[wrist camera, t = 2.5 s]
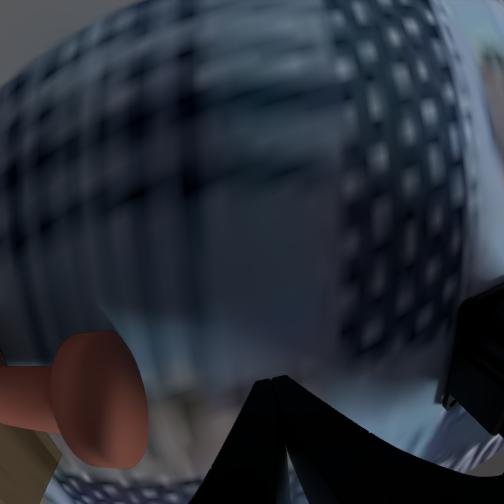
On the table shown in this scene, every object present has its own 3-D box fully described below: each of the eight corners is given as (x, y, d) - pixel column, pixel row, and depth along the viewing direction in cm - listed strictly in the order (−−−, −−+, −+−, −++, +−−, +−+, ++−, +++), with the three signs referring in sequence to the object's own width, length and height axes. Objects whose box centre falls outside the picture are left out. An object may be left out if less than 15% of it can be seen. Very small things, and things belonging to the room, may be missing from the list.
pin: (116, 308, 9) (56, 380, 5) (156, 408, 10) (134, 495, 6) (-33, 328, 9) (-86, 366, 4) (3, 403, 10) (-35, 450, 5)
